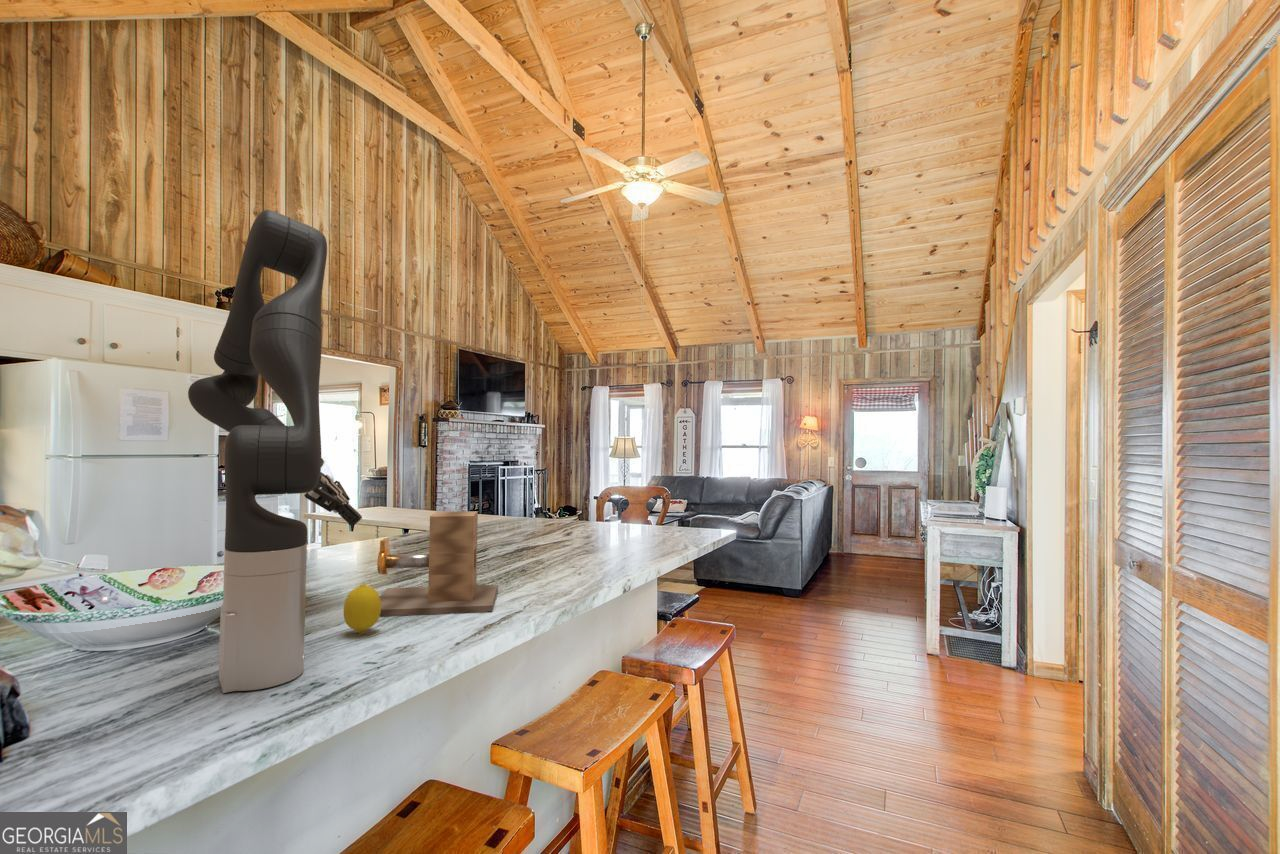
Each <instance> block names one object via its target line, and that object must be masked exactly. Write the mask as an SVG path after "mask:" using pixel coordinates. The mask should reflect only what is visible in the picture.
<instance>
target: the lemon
mask: <svg viewBox="0 0 1280 854" xmlns="http://www.w3.org/2000/svg"><path fill="white" fill-rule="evenodd" d="M379 596H380V595H379V592H378V591H377V590H376V589H375V588H373V587H371V586H369V585H367V584H366V583H362V584H360V585H359V586H357V587H355V588H354V589H352V590H351V591H350V592H349V593H348V595H347V596H346V598H345V600H344V603H343V604H344V605H343V618H344V621H345V623H346V625H347V626H348V628H350V629H351V630H355V631H357V632H358V633H359V634H364V633H365V632H366V631H367V630H368V629H370V628H372V627H374V625H375V624H376V623H377V622H378V621H379V619H380V617H381V616H380V612H381V601H380V597H379ZM379 616H380V617H379Z"/></svg>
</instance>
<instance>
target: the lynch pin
mask: <svg viewBox="0 0 1280 854" xmlns="http://www.w3.org/2000/svg"><path fill="white" fill-rule="evenodd" d="M389 545H390V539H389V538H386V537H384V538H383V539H382V540H380V541H379V552H378V556H377V567H376V568H377V572H378V575H381V576H382V575H388V574H389V572H390V569H413V568H415V569H416V568H417V569H418V568H421V569H422V568H429V553H405V554H404V553H401V554H400V553H398V554H396V553H395V554H391V551H390V549H389V548H390V547H389Z"/></svg>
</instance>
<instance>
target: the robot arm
mask: <svg viewBox="0 0 1280 854" xmlns="http://www.w3.org/2000/svg"><path fill="white" fill-rule="evenodd" d="M327 256H328V243H327V238H326V236H325V234H324V233H323V232H321V231H320V230H319V229H317V228H315V227H313V226H310V225H308V224H307V223H304V222H301V221H299V220H297V219H294V218H291V217H289V216H287V215H284V214H281V213H279V212H277V211H274V210H270V209H264V210H262V211H261V212H259V214H258V215H257V216H256V218H255V219H254V220H253V223H252V225H251V227H250V230H249V232H248V235H247V239H246V242H245V246H244V250H243V253H242V257H241V261H240V265H239V269H238V273H237V277H236V282H235V286H234V291H233V296H232V300H231V305H230V308H229V309H230V310H229V312H228V315H227V316H228V317H227V319H226V323H225V324H224V326H223V329H222V333H221V335H220V338H219V339H218V342H217V345H216V347H215V350H214V355H213V360H214V363H215V364H216V365H217V367H219V368H220V369H221V370H223V372H222V373H220V374H216V375H212V376H207V377H204V378H203V377H202V378H200V379H197V380H195V381H193V382H192V384H190V386H189V388H188V391H187V395H188V396H187V397H188V400H189V403H190V405H191V406H192V408H193V409H194V410H195V411H196V412H197V413H198V415H200V416H201V417H203V418H204V419H205V420H207V421H209V422H211V424H212V423H213V425H215V426H218V427H219V428H221V429H222V430H224V431H226V432H228V434H227V437H226V440H225V444H224V445H225V447H224V482H225V530H224V531H225V535H224V555H223V556H224V559H223V591H222V593H223V596H222V604H221V606H220V619H219V651H218V653H219V654H218V682H219V685H220V689H221V691H222V692H221V693H225V694H226V693H231V692H241V691H242V692H243V691H244V692H245V691H246V692H247V691H256V690H257V691H258V690H262V689H268V688H272V687H277V686H280V685H282V684H286V683H289V682H290V681H293V680H295V679H296V678H298V677H300V676H301V675H302V674H303V672H304V670H305V669H304V668H305V635H306V634H305V631H306V597H307V596H306V593H307V589H306V588H307V558H308V557H307V556H308V554H307V553H308V551H307V550H308V527H307V525H306V523H304V522H303V521H301V520H298V519H294V518H290V517H286V516H283V515H279V514H277V513H274V512H272V511H270V510H267V509H266V508H264V507H263V506H261V505H260V504H259V503H258V502H257V500H256V496H260V495H261V496H262V495H267V496H268V495H286V494H287V495H293V494H304V497H305V499H306V500H309V501H310V502H312V503H314V504H315V505H317V506H319V507H321V508H323V509H324V510H326V511H327V512H329V513H331V512H333V513H335V514H338V515H339V516H340V517H341V518H342V519H343V520H345V522H347V523H348V524H349V526H351V527H352V526H355V525H357V524H358V523H360V521H361V520H362V518H363V516H362V515H361V514H360V513H359V512H358V511H357V510H356V509H355V508H354V507H353V505H351V504H350V500H351V498H350V497H349V495H348V494H347V492H346V491H345V489H344V487H343V486H342V484H341V482H340V481H338V480H335V481H334V479H333V478H332V477H331V475H328V474H325V473H323V472H322V470H321V469H322V467H323V465H324V463H325V461H324V459H323V458H322V437H321V419H320V400H319V399H320V397H319V395H320V377H321V376H320V375H321V364H322V340H323V335H322V333H323V332H322V331H323V330H322V302H323V301H322V299H323V287H324V280H325V273H326V265H327ZM264 268H267V269H269V270H272V271H276V272H279V273H280V274H284V275H286V276H289V277H293V278H294V279H296V281H297V282H296V283H295V284H293V286H291V287H290V288H289V289H288V290H286V291H285V292H282V293H280V294H279V295H278V296H276V297H274V298H272V299H270V300H269V301H268V302H267V303H265V300H264V298H263V292H262V288H261V287H262V286H261V277H262V272H263V269H264ZM259 376H261V378H262V379H263V380H264V382H265V383H266V384H267V385H268V386H269V387H270V388H271V389H272V391H273V392H275V394H276V395H277V396H278V397H279V398H280V400H281V401H282V403H283V404H284V407H286V409H287V411H288V413H289V415H290V417H291V420H292V423H293V425H285V424H284V422H283V421H282V420H280V419H279V418H278V416H276V415H275V414H274V413H273V412H271V411H270V410H269V409H267V408H262V407H260V408H253V407H248V406H249V405H250V404H251V403H253V401H254V399H255V398H256V396H257V393H258V388H259V380H260V379H259V378H260V377H259Z"/></svg>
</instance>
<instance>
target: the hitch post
mask: <svg viewBox="0 0 1280 854" xmlns="http://www.w3.org/2000/svg"><path fill="white" fill-rule="evenodd" d="M478 512H479V511H473V510H471V511H470V510H469V511H468V510H465V511H464V510H463V511H435V512H434V513H433V514H432V515H430V516H429V533H428V534H429V541H428V542H429V543H428V545H429V546H428V551H429V552H428V554H429V567H428V585H427V586H421V587H420V586H419V587H417V586H415V587H413V586H412V587H390V588H389V587H388V588H386V590H385V589H384V591H383V592H382V593H381V594H380V595H379V597H380V601H381V612H380V616H379V618H381V617H398V616H399V617H400V616H401V617H402V616H404V617H405V616H426V615H446V614H447V615H449V614H450V615H451V613H454V614H471V613H470V612H479V613H488V612H487V611H492V610H494V607H493V606H494V605H495V603H496V602H495V601H496V600H497V593H498V591H499V590H498V589H499V585H498V584H481V585H479V584H478V585H477V583H478V581H477V577H478V576H477V575H478V573H477V572H478V567H477V566H478V524H479V522H478V519H479V518H478V516H479V515H478V514H479V513H478ZM494 602H495V603H494ZM492 612H493V611H492Z"/></svg>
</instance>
